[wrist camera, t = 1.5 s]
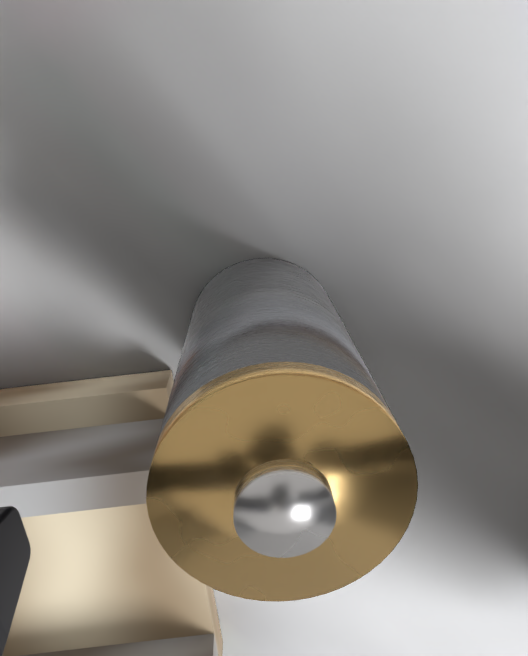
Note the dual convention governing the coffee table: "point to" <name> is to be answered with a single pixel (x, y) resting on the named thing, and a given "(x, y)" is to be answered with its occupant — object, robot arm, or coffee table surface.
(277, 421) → the cell
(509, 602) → the coffee table surface
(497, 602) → the coffee table surface
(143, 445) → the cradle
